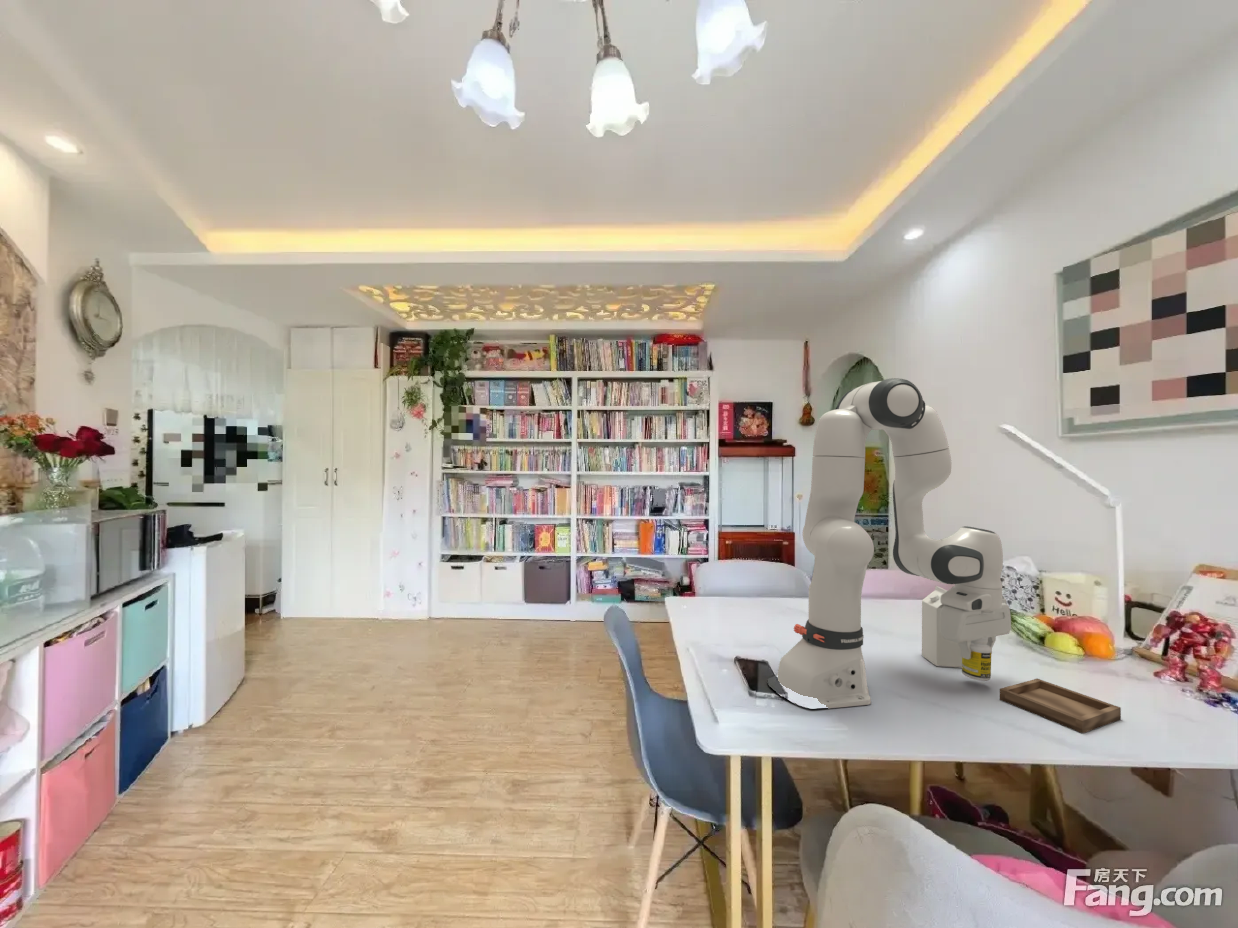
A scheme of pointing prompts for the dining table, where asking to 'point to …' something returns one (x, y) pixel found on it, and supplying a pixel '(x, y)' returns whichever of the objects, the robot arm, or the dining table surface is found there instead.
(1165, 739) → the dining table surface
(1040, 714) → the tray
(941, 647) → the milk carton
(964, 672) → the supplement bottle
